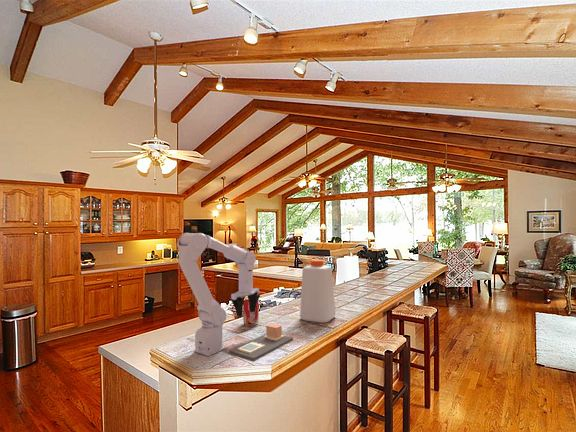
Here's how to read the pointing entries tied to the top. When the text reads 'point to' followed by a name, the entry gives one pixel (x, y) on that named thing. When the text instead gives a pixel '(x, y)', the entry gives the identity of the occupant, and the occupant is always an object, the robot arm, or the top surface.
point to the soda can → (250, 314)
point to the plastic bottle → (317, 293)
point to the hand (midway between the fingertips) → (246, 314)
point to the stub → (274, 332)
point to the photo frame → (251, 347)
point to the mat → (269, 347)
